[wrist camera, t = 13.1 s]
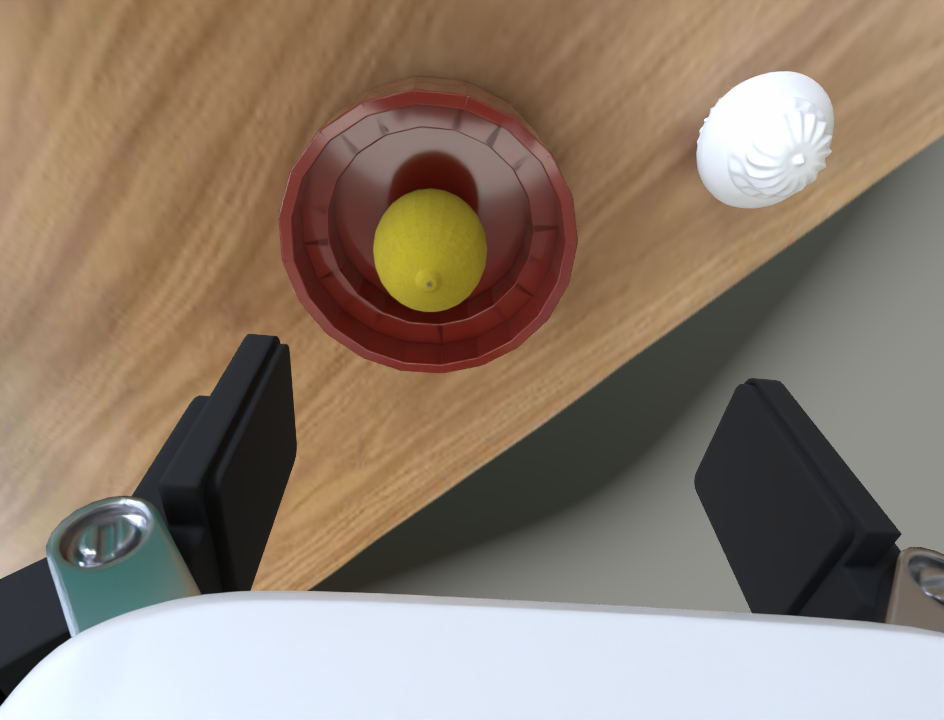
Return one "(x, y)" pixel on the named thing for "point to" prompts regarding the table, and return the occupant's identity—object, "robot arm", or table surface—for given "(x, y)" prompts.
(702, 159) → the muffin
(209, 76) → the table surface
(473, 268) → the lemon
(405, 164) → the bowl
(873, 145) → the table surface
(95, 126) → the table surface
